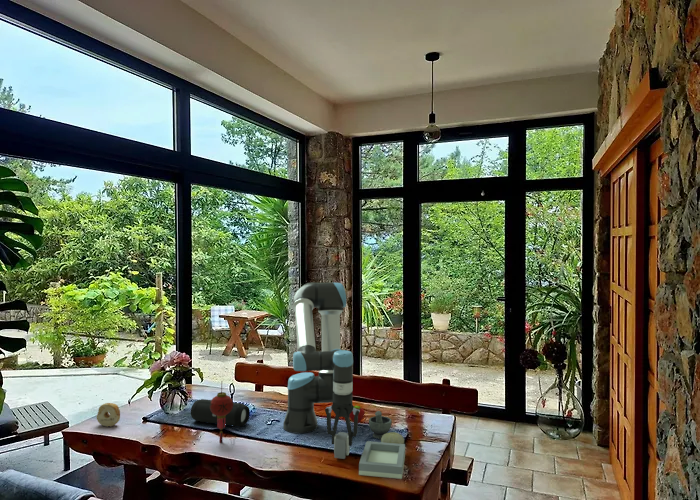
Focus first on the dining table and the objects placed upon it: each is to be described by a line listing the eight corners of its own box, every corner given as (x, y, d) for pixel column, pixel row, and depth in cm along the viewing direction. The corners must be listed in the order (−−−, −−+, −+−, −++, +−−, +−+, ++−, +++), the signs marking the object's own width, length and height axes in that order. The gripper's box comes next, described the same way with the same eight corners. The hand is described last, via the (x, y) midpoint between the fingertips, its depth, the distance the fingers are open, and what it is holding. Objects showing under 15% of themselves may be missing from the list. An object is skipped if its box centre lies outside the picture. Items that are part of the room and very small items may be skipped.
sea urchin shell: (377, 436, 193) (390, 422, 194) (390, 449, 194) (404, 435, 194) (380, 445, 184) (394, 430, 185) (394, 459, 185) (408, 444, 185)
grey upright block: (334, 457, 175) (335, 439, 175) (338, 449, 182) (338, 431, 182) (344, 458, 174) (345, 440, 174) (348, 451, 181) (348, 433, 181)
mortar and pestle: (371, 430, 205) (371, 403, 205) (392, 432, 203) (392, 405, 203) (366, 440, 194) (366, 411, 194) (389, 442, 192) (389, 413, 192)
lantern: (207, 439, 193) (208, 367, 193) (230, 436, 196) (231, 365, 197) (210, 448, 184) (211, 372, 184) (234, 445, 188) (235, 370, 188)
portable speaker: (189, 424, 211) (189, 402, 211) (202, 417, 220) (202, 395, 220) (239, 430, 203) (239, 407, 203) (250, 423, 213) (250, 401, 213)
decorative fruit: (363, 427, 208) (363, 405, 208) (346, 426, 210) (347, 403, 210) (365, 423, 214) (366, 401, 214) (349, 421, 216) (350, 399, 216)
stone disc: (122, 424, 209) (122, 402, 209) (116, 427, 205) (116, 405, 205) (101, 423, 210) (101, 400, 211) (95, 426, 207) (96, 403, 207)
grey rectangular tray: (358, 474, 163) (359, 463, 163) (366, 451, 183) (366, 441, 183) (401, 478, 161) (402, 467, 161) (405, 454, 180) (405, 444, 180)
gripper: (318, 393, 176) (317, 455, 176) (363, 396, 173) (362, 459, 173) (323, 387, 183) (322, 447, 183) (366, 390, 180) (365, 450, 180)
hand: (341, 453), depth 178 cm, fingers closed on grey upright block, 4 cm apart
